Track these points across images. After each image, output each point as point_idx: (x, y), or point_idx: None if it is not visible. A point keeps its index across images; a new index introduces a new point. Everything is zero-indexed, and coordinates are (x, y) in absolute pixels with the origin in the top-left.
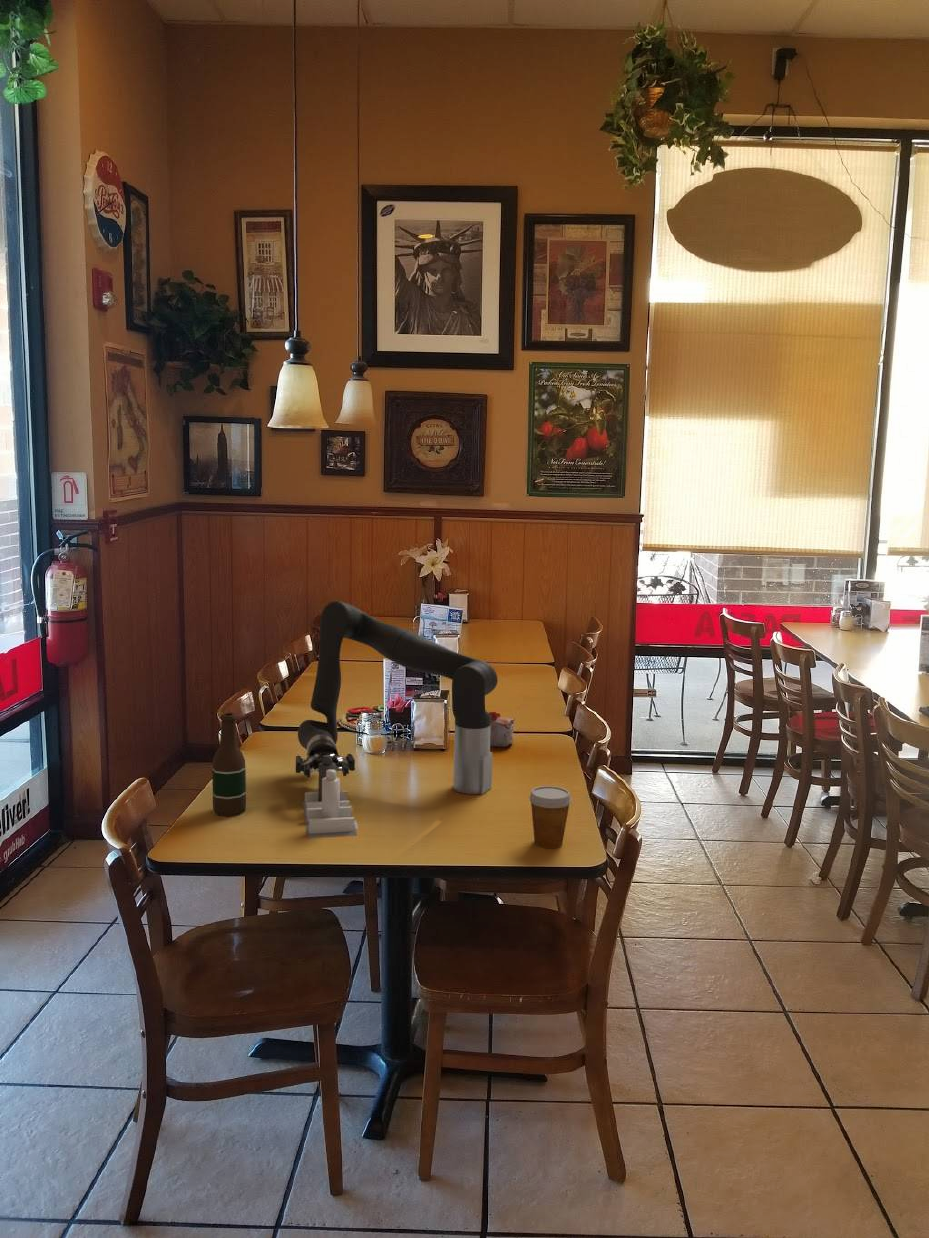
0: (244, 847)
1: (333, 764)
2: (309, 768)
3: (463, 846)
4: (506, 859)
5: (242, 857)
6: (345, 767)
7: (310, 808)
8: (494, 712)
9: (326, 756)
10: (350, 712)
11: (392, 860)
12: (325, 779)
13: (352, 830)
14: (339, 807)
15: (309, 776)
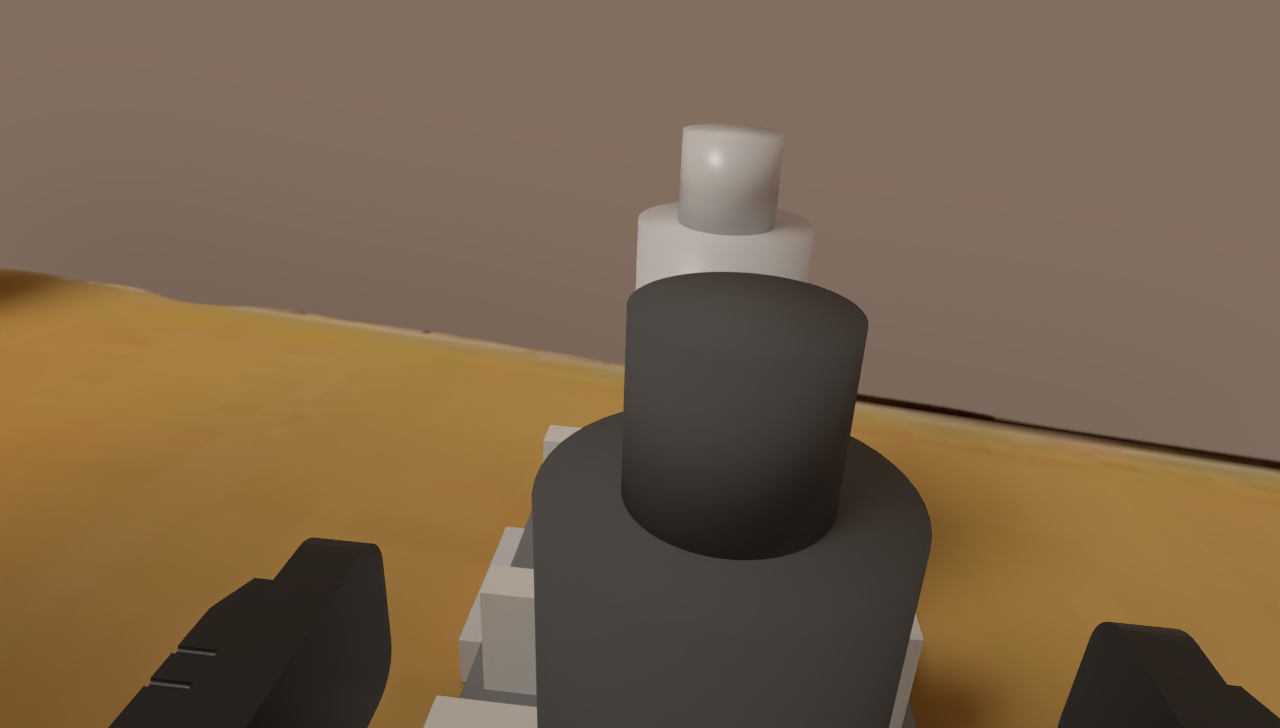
0: (1245, 571)
1: (592, 470)
2: (1137, 637)
3: (83, 376)
4: (61, 300)
5: (1177, 486)
6: (326, 539)
7: None
8: None
9: (771, 308)
10: None
11: (471, 359)
12: (781, 227)
13: None
14: None
15: (1071, 725)
